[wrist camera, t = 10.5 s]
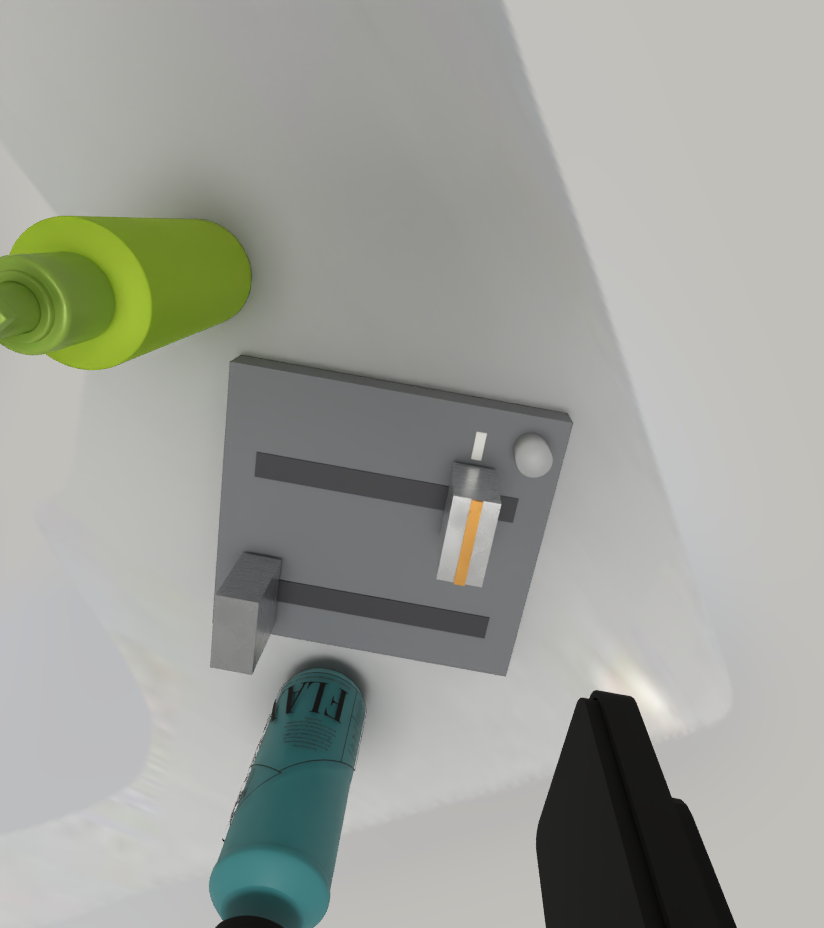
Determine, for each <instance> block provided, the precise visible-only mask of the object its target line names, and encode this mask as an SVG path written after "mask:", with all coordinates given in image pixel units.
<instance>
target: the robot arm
mask: <svg viewBox="0 0 824 928" xmlns="http://www.w3.org/2000/svg"><path fill="white" fill-rule="evenodd" d="M536 851H537V860H538V867H539V876H540V884H541V891H542V899H543V907H544V915H545V923H546V928H737V927H736V924H735V922H734V920H733V917H732V914H731V912H730V909H729V907H728V904H727V902H726V899H725V897H724V894H723V892H722V889H721V887H720V884H719V882H718V879H717V877H716V874H715V872H714V869H713V866H712V864H711V861H710V859H709V856H708V854H707V852H706V849H705V846H704V844H703V841H702V839H701V836H700V834H699V831H698V829H697V826H696V824H695V821H694V819H693V816H692V814H691V812H690V810H689V808H688V806H687V805H686V804H685V803H684V802H683V801H682V800H681V799H676V798H672V797H671V795H670V791H669V789H668V786H667V783H666V781H665V778H664V775H663V773H662V770H661V768H660V765H659V762H658V759H657V757H656V754H655V751H654V749H653V746H652V743H651V741H650V738H649V735H648V733H647V730H646V727H645V725H644V722H643V719H642V717H641V714H640V711H639V708H638V706H637V703H636V701H635V700H634V698H632V697H631V696H626V695H620V694H615V693H609V692H604V691H598V690H596V691H593V693H592V694H591V696H590V698H589V699H587V698H580V699H579V700H578V702H577V704H576V707H575V710H574V714H573V717H572V720H571V723H570V726H569V729H568V732H567V736H566V739H565V742H564V745H563V748H562V751H561V754H560V757H559V761H558V764H557V767H556V770H555V773H554V776H553V779H552V783H551V786H550V789H549V792H548V795H547V798H546V801H545V804H544V808H543V811H542V814H541V817H540V820H539V824H538V829H537V836H536Z"/></svg>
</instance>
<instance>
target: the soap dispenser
mask: <svg viewBox="0 0 824 928" xmlns="http://www.w3.org/2000/svg"><path fill="white" fill-rule="evenodd" d="M250 288H251V268H250V264H249V260H248V258H247V255H246V253H245V251H244V249H243V247H242V246H241V244H240V243H239V242H238V240H237V239H236V238H235V237H234V236H233V235H232V234H231V233H230V232H229V231H227V230H226V229H225V228H223V227H221V226H220V225H218V224H216V223H213V222H210V221H206V220H201V219H169V218H129V217H89V216H57V217H52V218H48V219H45V220H42V221H40V222H37V223H36V224H34V225H32V226H31V227H29V228H28V229H27V230H26V231H25V232H24V233H22V235H21V236H20V237H19V238H18V239H17V241H16V242H15V244H14V246H13V247H12V250H11V252H10V254H9V255H6V256H2V257H0V343H1V344H2V345H3V346H5V347H6V348H8V349H10V350H12V351H15V352H18V353H21V354H26V355H41V354H46V355H48V356H49V357H51V358H52V359H54V360H56V361H58V362H60V363H62V364H65V365H67V366H70V367H74V368H78V369H84V370H101V369H107V368H111V367H114V366H116V365H119V364H121V363H124V362H126V361H129V360H131V359H134V358H136V357H138V356H141V355H143V354H146V353H148V352H151V351H153V350H156V349H158V348H160V347H163V346H165V345H168V344H170V343H173V342H175V341H178V340H180V339H182V338H185V337H187V336H190V335H192V334H195V333H197V332H200V331H202V330H204V329H207V328H209V327H212V326H214V325H217V324H219V323H222V322H224V321H226V320H228V319H230V318H231V317H233V316H234V315H235V314H237V313H238V312H239V311H240V309H241V308H242V307H243V305H244V304H245V302H246V300H247V298H248V295H249V292H250Z"/></svg>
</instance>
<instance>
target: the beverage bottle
mask: <svg viewBox="0 0 824 928" xmlns="http://www.w3.org/2000/svg"><path fill="white" fill-rule="evenodd" d="M286 683H287V684H286ZM286 683H285V684H286V685H285V686H284V685H283V686H284V687H283V686H282V687H283V689H282V690H281V693H280V695H279V698H278V697H277V698H278V700H277V699H276V700H277V703H276V700H275V702H274V704H273V710H272V714H271V715H272V716H270V717H271V719H270V718H269V717H268V718H269V719H270V721H269V720H267V721H269V724H268V727H267V729H266V727H265V729H266V732H265V735H264V737H263V738H262V739H263V740H262V739H261V740H262V741H261V740H260V741H261V745H260V744H259V751H258V753H257V756H255V754H256V751H255V754H254V756H255V758H256V759H255V761H254V758H253V761H254V764H253V765H251V766H250V767H251V772H250V773H249V774H250V775H249V776H248V777H246V778H248V780H247V779H245V781H247V783H246V785H245V788H244V790H243V791H242V795H240V794H239V796H241V797H239V796H238V797H239V798H240V800H237V801H239V802H236V804H238V803H239V804H238V806H237V809H236V811H235V812H234V811H232V812H234V814H233V813H232V814H231V816H232V815H234V817H233V816H232V817H231V818H233V820H232V819H230V821H231V820H232V822H230V821H229V822H230V827H229V830H228V833H227V836H226V839H225V840H223V838H222V840H223V841H224V845H223V848H222V850H221V853H220V856H219V859H218V862H217V863H216V865H215V866H214V868H213V871H212V873H211V876H210V882H209V892H210V897H211V900H212V902H213V905H214V906H215V908H216V910H217V912H218V913H219V915H220V917H221V919H222V920H223V921H222V922H221V923H219V924H218V925H217V927H216V928H313V927H315V926H316V925H317V924H318V923H319V922H320V921H321V920H322V918H323V917H324V915H325V913H326V912H327V909H328V905H329V901H330V888H331V882H332V877H333V872H334V867H335V862H336V856H337V851H338V845H339V840H340V835H341V830H342V825H343V819H344V814H345V809H346V803H347V798H348V793H349V787H350V783H351V780H352V776H353V771H355V769H354V766H355V761H356V756H357V751H358V746H359V741H360V736H361V731H362V726H363V721H364V716H365V706H366V705H365V706H364V703H365V702H364V700H363V697H362V694H361V692H360V690H359V689H358V687H357V686H356V685H355V684H354V682H353V681H351V680H350V679H349V678H348V677H346V676H345V675H343V674H341V673H339V672H336V671H334V670H330V669H321V668H317V669H309V670H305V671H302V672H300V673H298V674H297V675H295V676H294V677H292V678H291V679H290V680H289V681H287V682H286ZM282 687H281V688H282ZM279 691H280V690H279ZM365 718H366V717H365ZM267 723H268V722H267ZM364 723H365V722H364ZM266 726H267V725H266ZM363 728H364V727H363ZM265 729H264V730H265ZM263 732H264V731H263ZM362 733H363V732H362ZM262 736H263V735H262ZM361 738H362V736H361ZM259 743H260V742H259ZM360 743H361V742H360ZM359 748H360V747H359ZM257 749H258V747H257ZM257 749H256V750H257ZM358 753H359V752H358ZM357 758H358V757H357ZM253 761H252V762H253ZM356 763H357V762H356ZM252 766H253V767H252ZM250 767H249V768H250ZM355 768H356V767H355ZM248 771H249V770H248ZM241 789H242V788H241ZM240 793H241V791H240ZM239 798H238V799H239ZM236 804H235V806H236ZM234 809H235V808H234ZM234 809H233V810H234ZM227 826H228V825H227Z"/></svg>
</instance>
